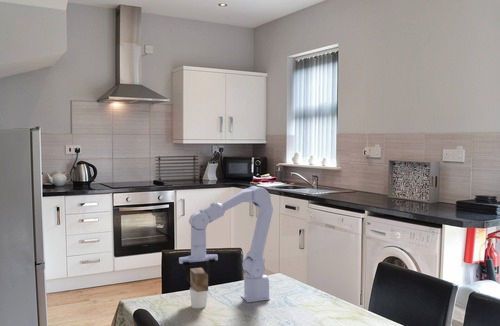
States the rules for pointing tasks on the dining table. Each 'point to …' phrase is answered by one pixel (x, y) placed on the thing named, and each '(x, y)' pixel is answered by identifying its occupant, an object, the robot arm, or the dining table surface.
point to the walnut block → (198, 279)
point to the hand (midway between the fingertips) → (198, 280)
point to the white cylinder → (198, 298)
